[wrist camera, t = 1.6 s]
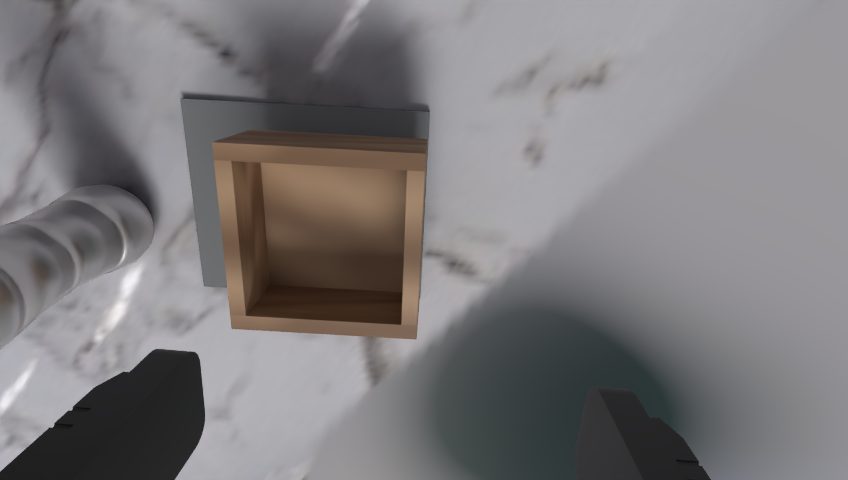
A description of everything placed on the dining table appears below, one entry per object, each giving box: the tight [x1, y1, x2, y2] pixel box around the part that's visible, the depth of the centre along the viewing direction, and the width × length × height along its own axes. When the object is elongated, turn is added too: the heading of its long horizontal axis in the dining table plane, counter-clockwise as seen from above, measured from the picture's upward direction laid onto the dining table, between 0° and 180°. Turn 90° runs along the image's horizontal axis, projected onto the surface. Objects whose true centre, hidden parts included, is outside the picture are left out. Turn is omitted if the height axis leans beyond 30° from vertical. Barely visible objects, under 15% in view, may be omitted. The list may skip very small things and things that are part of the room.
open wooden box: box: [212, 130, 428, 339], centre depth 32 cm, size 12×12×8 cm
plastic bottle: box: [0, 184, 154, 349], centre depth 28 cm, size 6×7×20 cm
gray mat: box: [181, 98, 430, 290], centre depth 37 cm, size 15×18×1 cm
